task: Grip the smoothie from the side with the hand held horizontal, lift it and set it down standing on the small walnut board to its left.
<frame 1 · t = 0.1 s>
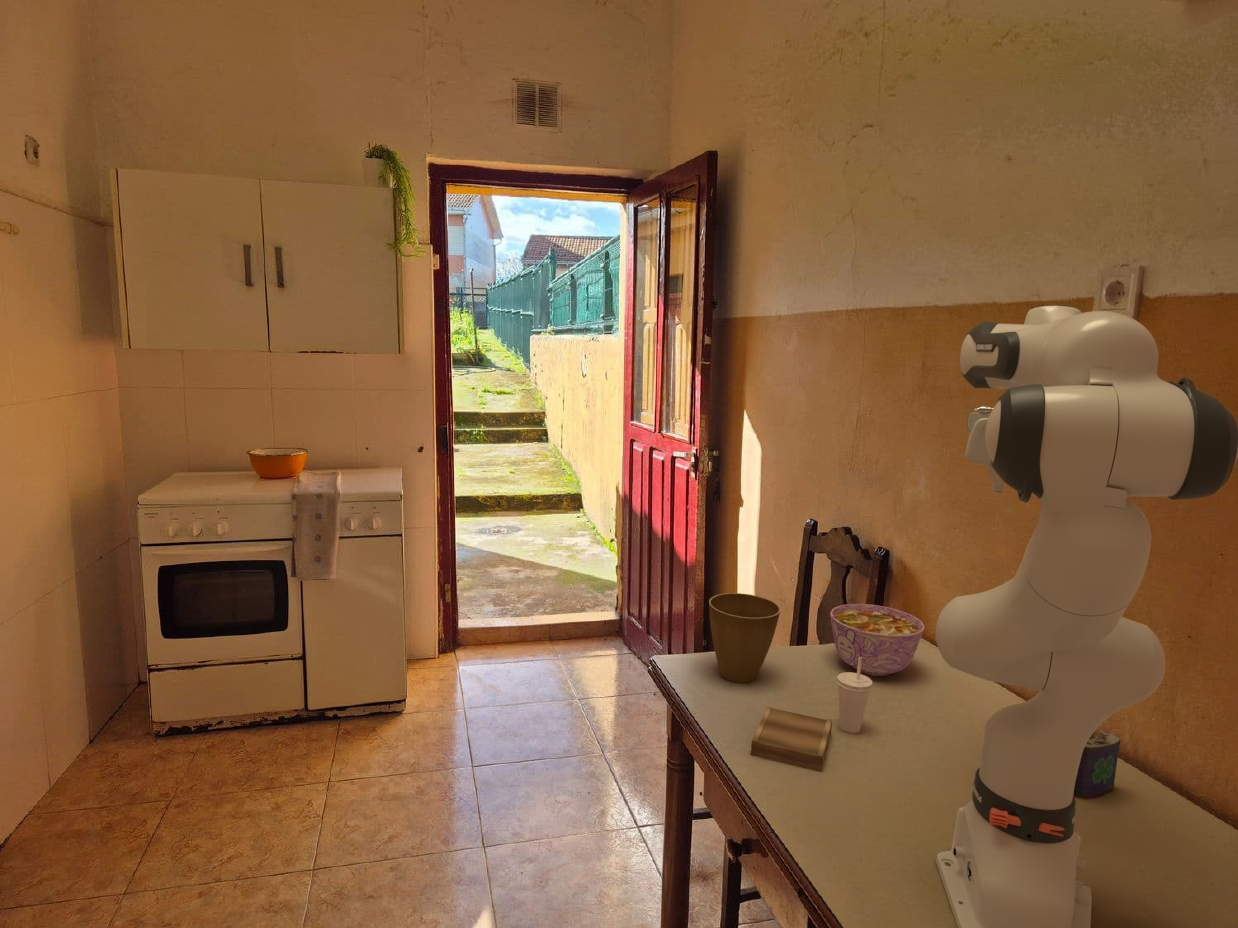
hand: (1029, 495, 125), 48 cm above the table, tool pointing down, fingers open, 8 cm apart
flask: (1092, 792, 128), on the table
board: (792, 743, 138), on the table
bowl of food: (871, 669, 173), on the table
smoothie: (849, 728, 145), on the table
plant pot: (738, 676, 166), on the table
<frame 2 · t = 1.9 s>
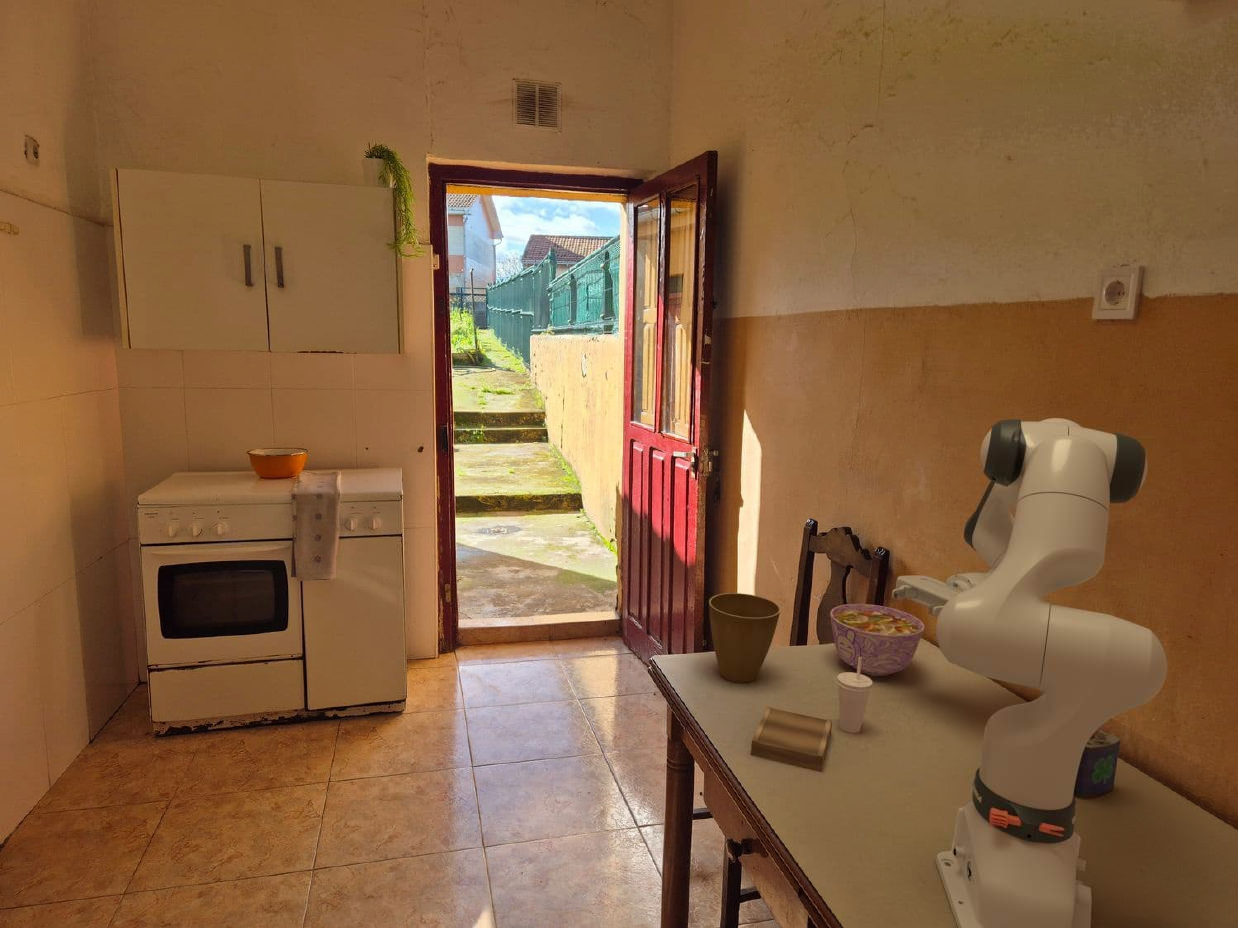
hand: (912, 602, 147), 23 cm above the table, tool horizontal, fingers open, 8 cm apart
nothing on the table moved.
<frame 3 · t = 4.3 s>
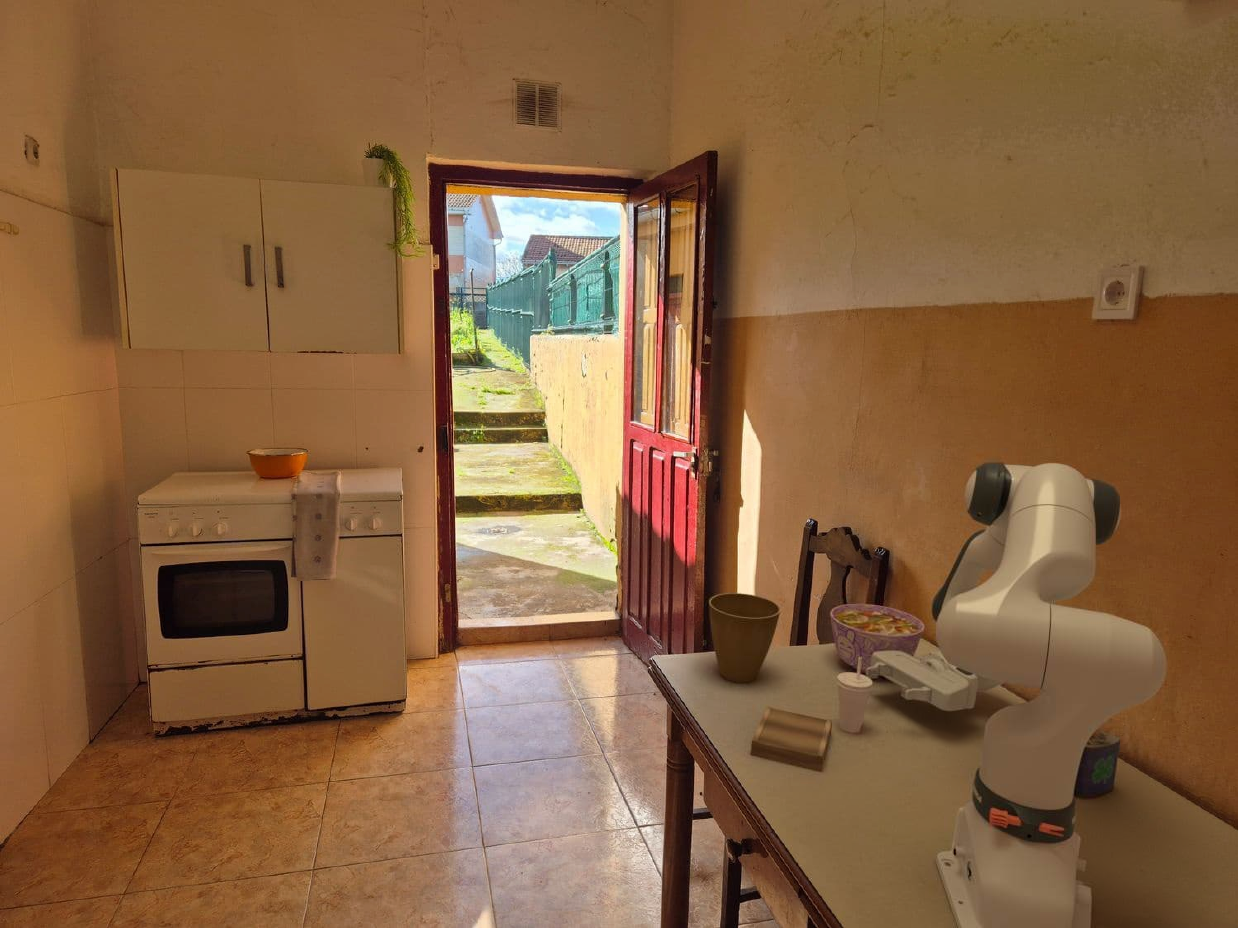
hand: (885, 683, 147), 8 cm above the table, tool horizontal, fingers open, 8 cm apart
nothing on the table moved.
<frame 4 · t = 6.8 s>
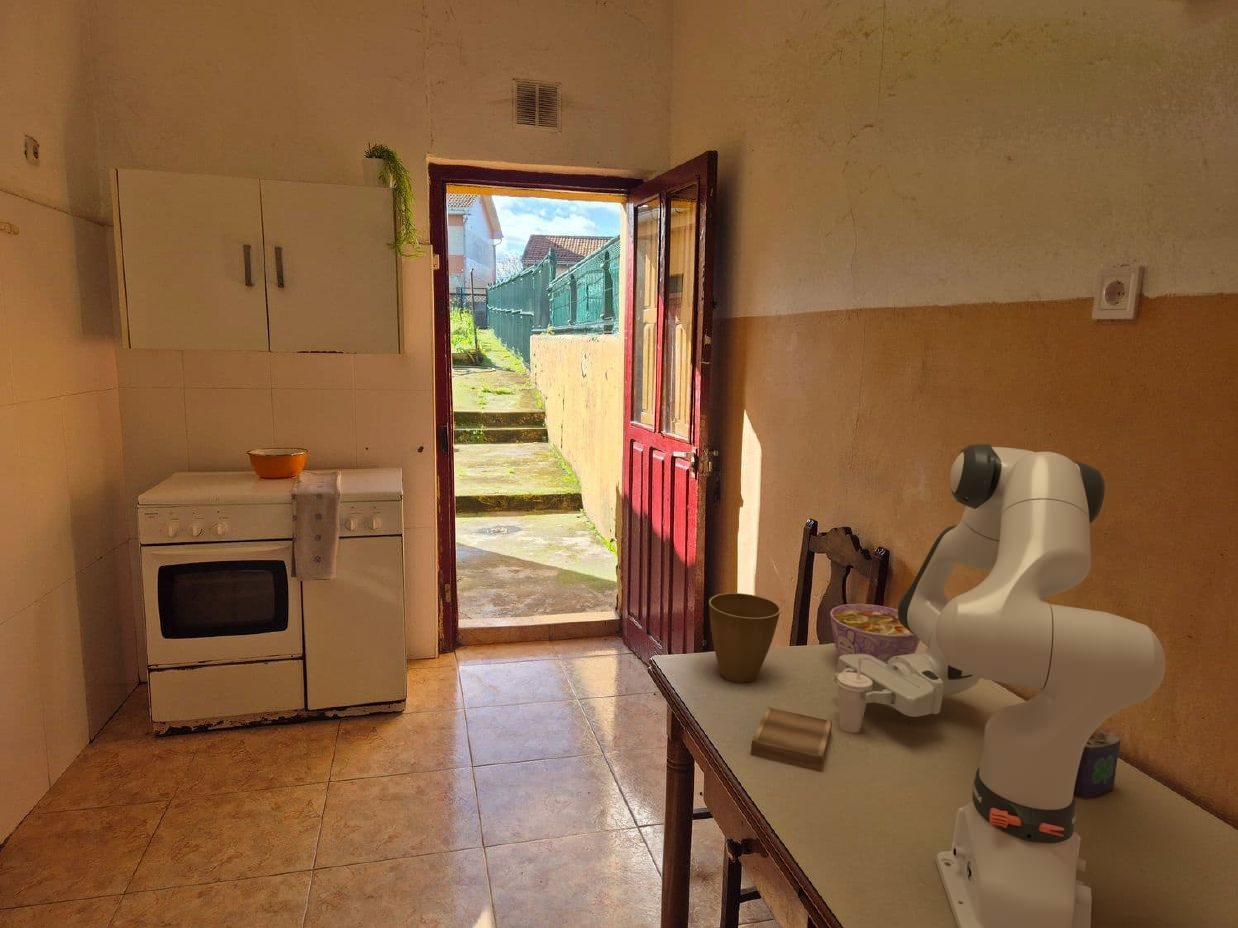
hand: (850, 688, 144), 8 cm above the table, tool horizontal, fingers closed on smoothie, 6 cm apart
smoothie: (849, 728, 145), on the table, touching gripper
everything else where it was.
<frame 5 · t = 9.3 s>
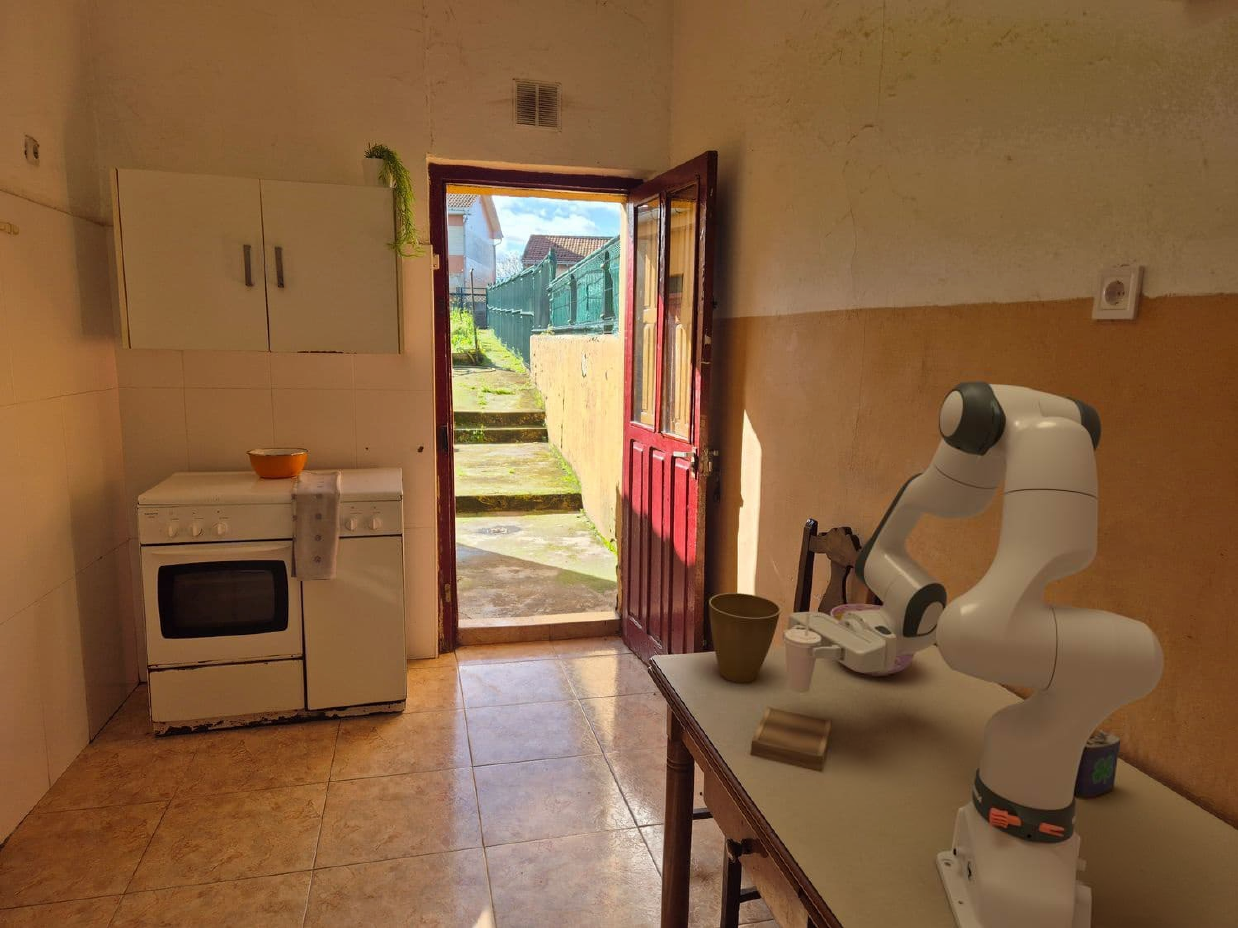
hand: (797, 644, 135), 19 cm above the table, tool horizontal, fingers closed on smoothie, 6 cm apart
smoothie: (798, 688, 137), point 10 cm above the table, touching gripper
everything else where it was.
when the fingers open (12 cm above the table, at t = 11.9 s): smoothie drops 1 cm, resting on board.
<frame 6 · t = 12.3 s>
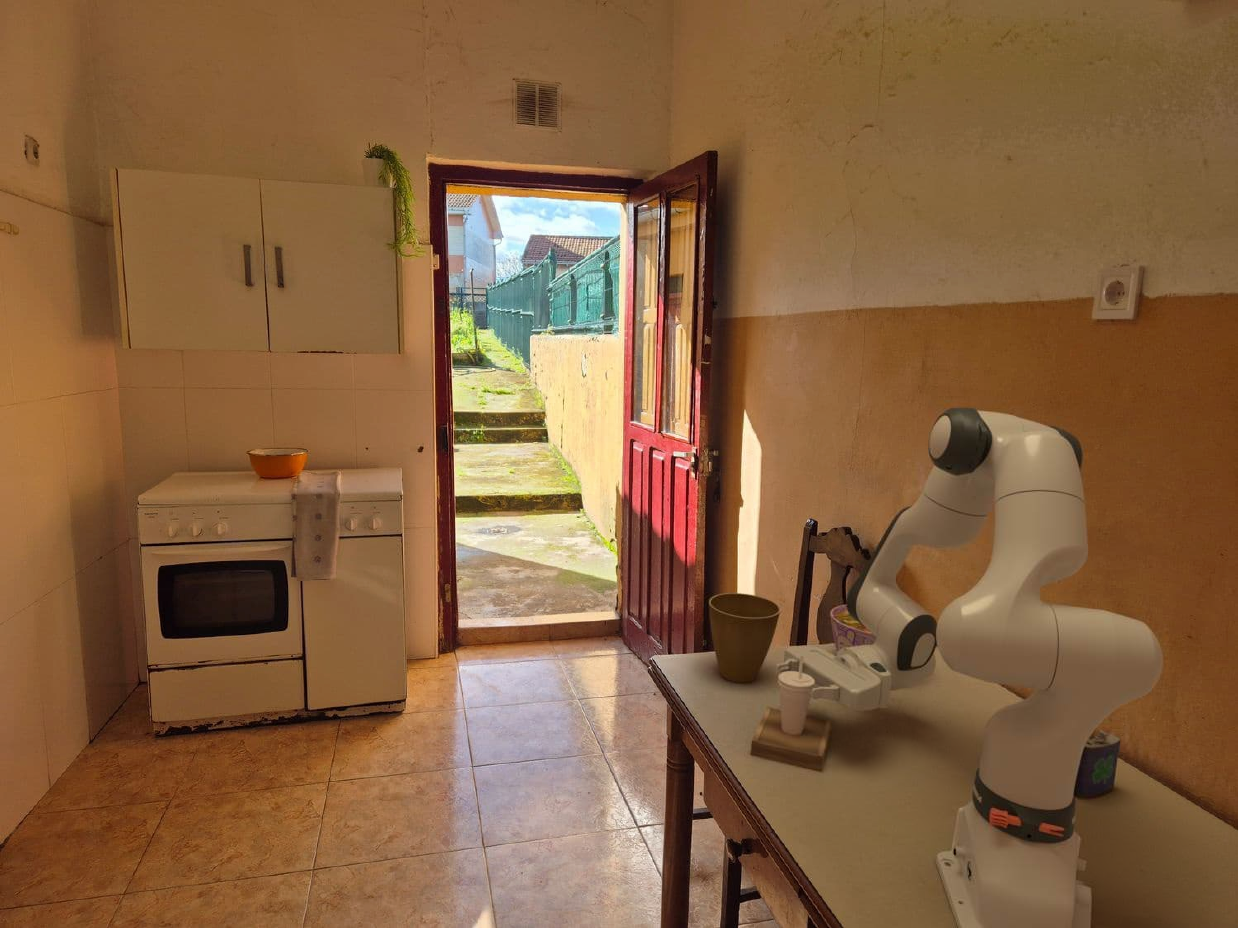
hand: (793, 681, 136), 12 cm above the table, tool horizontal, fingers open, 8 cm apart
smoothie: (791, 730, 138), point 2 cm above the table, touching board
everything else where it was.
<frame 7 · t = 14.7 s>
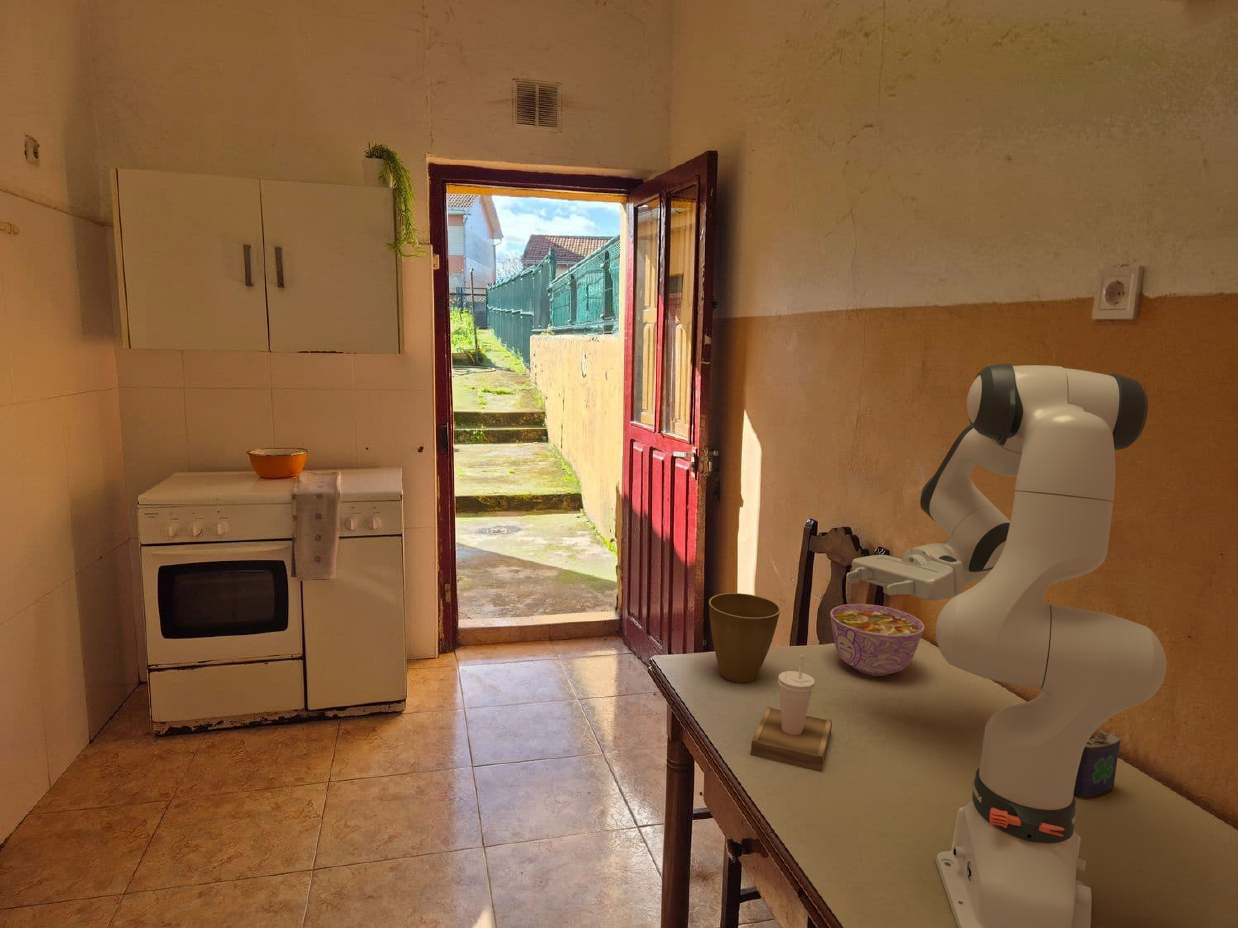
hand: (866, 584, 138), 29 cm above the table, tool horizontal, fingers open, 8 cm apart
nothing on the table moved.
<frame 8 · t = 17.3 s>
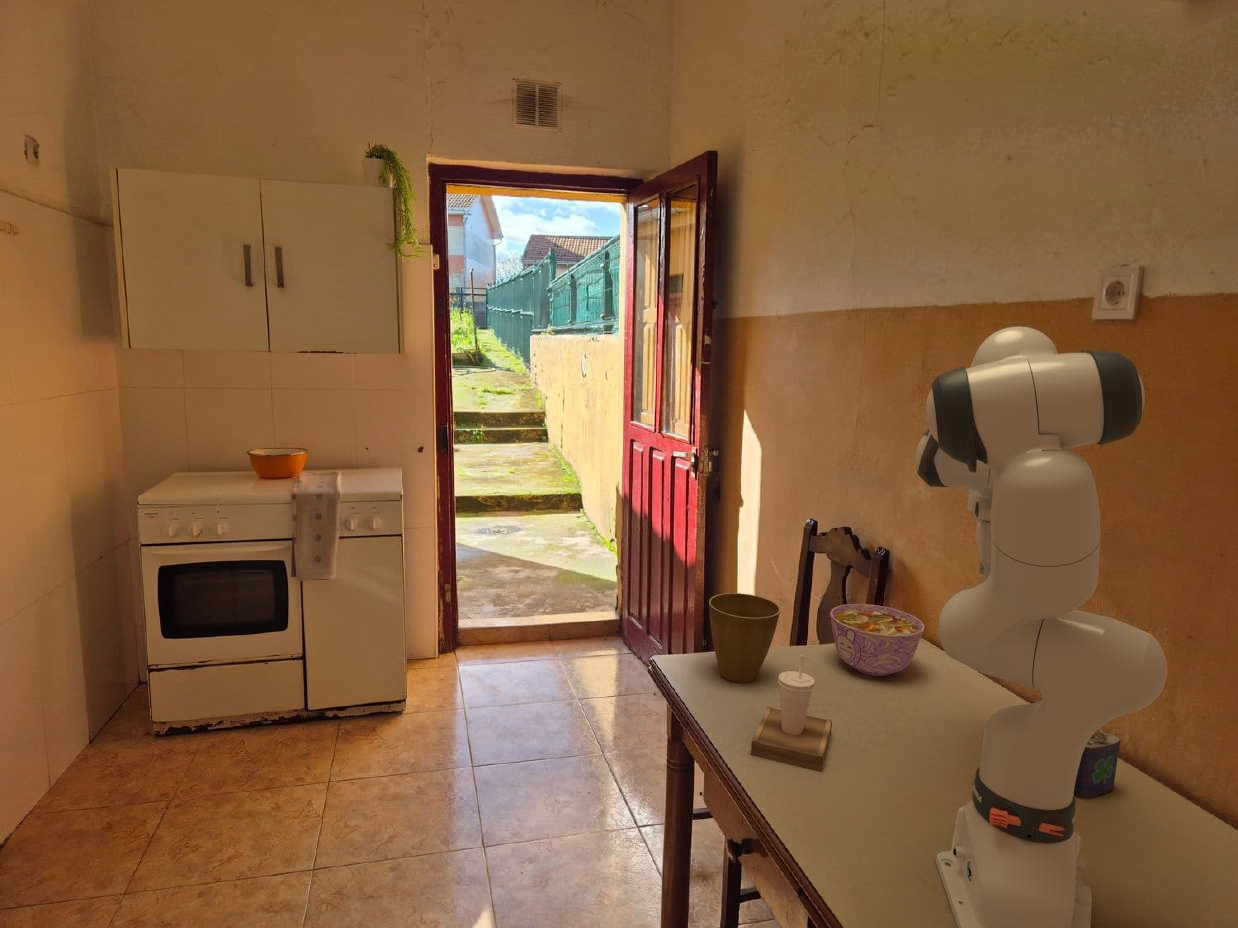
hand: (986, 580, 136), 31 cm above the table, tool pointing down, fingers open, 8 cm apart
nothing on the table moved.
at the end: smoothie inside the target area on the board (0.5 cm from its centre), point 2.3 cm above the board's base; smoothie tilted 0°; the gripper is holding nothing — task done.
